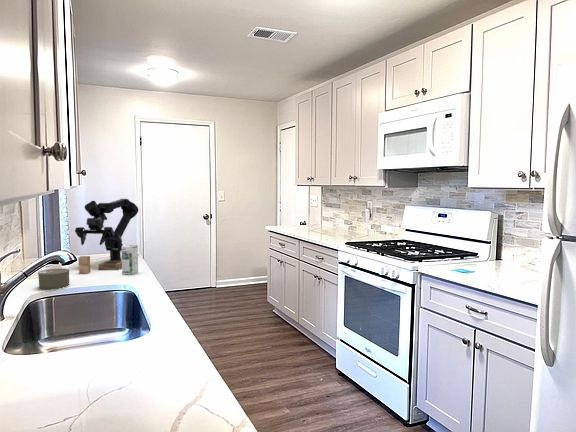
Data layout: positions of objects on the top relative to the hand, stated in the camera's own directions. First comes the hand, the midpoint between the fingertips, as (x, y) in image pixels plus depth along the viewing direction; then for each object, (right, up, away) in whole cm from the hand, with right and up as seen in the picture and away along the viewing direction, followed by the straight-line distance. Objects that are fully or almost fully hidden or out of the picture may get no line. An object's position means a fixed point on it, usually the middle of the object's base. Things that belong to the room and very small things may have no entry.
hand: (91, 244), depth 213 cm
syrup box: (+23, -14, -7) cm, 28 cm away
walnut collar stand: (+9, -13, +6) cm, 17 cm away
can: (0, -16, -34) cm, 38 cm away
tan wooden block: (0, -14, -7) cm, 15 cm away
